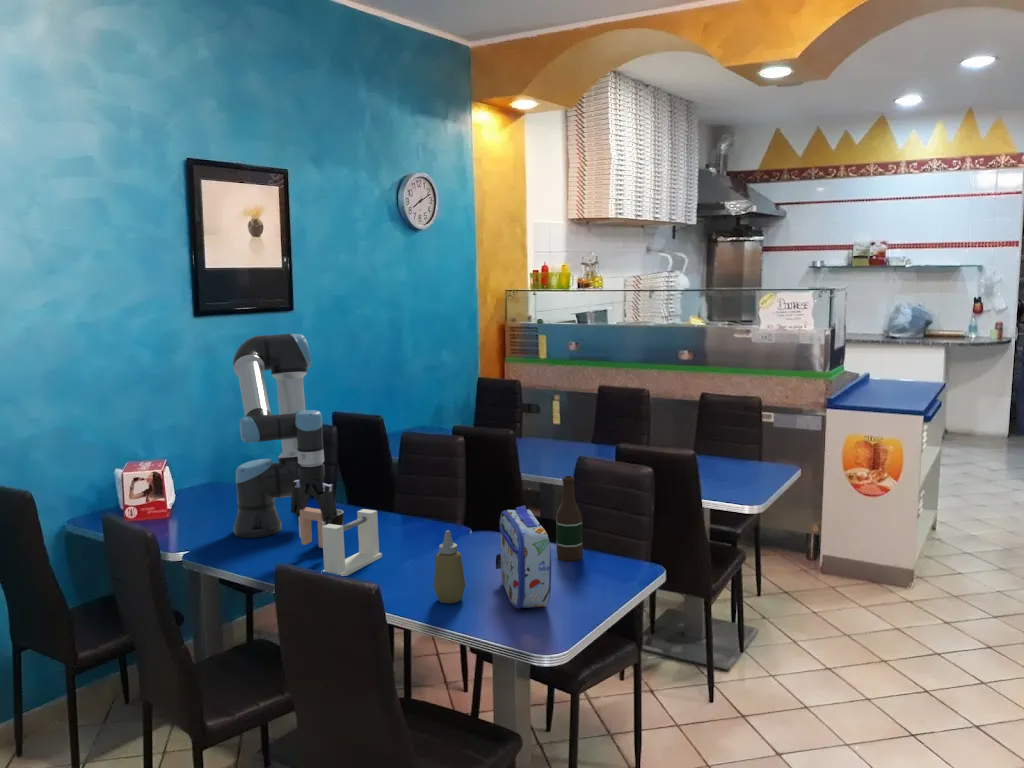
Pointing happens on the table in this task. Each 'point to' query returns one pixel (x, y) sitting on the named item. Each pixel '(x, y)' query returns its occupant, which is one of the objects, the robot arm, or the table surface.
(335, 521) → the coffee mug
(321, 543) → the arch
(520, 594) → the lunch box
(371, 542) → the rod bracket
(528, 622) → the table surface
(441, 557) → the squeeze bottle
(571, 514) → the beer bottle
